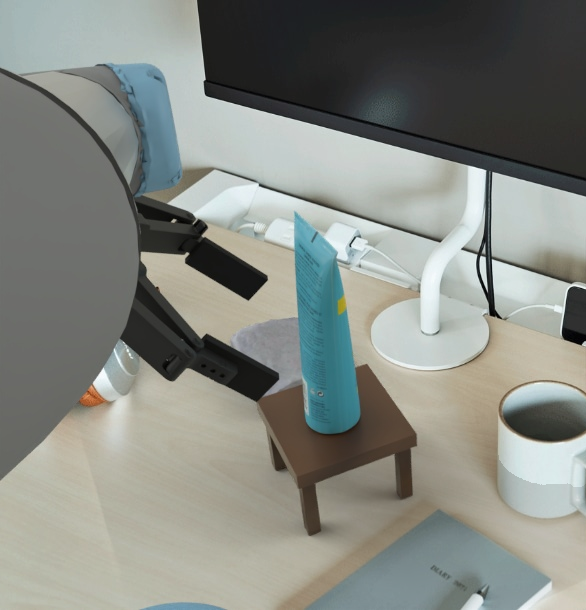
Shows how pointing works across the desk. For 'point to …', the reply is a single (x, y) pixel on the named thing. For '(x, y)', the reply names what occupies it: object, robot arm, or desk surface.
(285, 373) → the stone block
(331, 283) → the tube
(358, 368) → the stool
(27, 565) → the desk surface
